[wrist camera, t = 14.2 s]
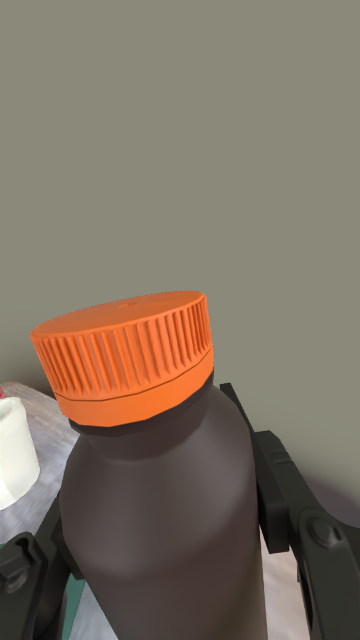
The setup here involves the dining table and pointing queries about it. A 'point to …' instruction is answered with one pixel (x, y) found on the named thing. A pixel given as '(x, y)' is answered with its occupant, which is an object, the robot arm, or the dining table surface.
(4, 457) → the foam cup
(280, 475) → the robot arm
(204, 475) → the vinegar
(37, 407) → the dining table surface
